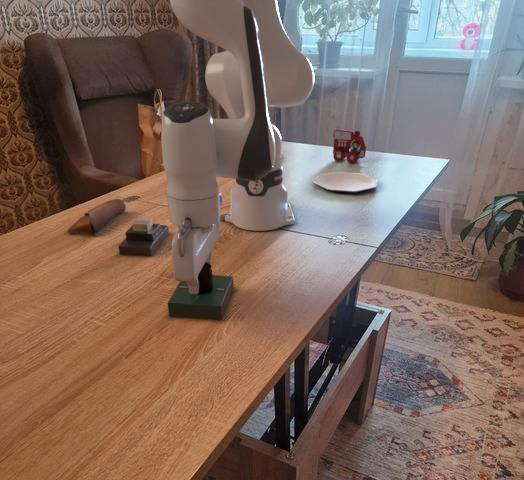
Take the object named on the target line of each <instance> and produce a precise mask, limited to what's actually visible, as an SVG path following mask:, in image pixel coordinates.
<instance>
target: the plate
mask: <svg viewBox="0 0 524 480" xmlns="http://www.w3.org/2000/svg"><path fill="white" fill-rule="evenodd" d="M378 182H379V179H377V178H375V177H372V176H370V175H368V174H364V173H361V172H349V171H333V172H328V173H322V174H321V173H320V174H318V175H316V177H315V179H314V180H313V185H315V186H318V187H320V188H322V189H324V190H326V191H329V192H340V193H341V192H342V193H352V194H353V193H360V192H365V191H370V190H375V189H376V188H377V186H378Z"/></svg>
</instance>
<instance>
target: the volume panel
mask: <svg viewBox="0 0 524 480" xmlns="http://www.w3.org/2000/svg"><path fill="white" fill-rule="evenodd" d="M212 276H213V290H212V291H211V292H209V293H205V294H190V293H189V289H188V284H187V282H183V281H178V284H177V286H176V287H175V289H174V291H173V292H172V295H171V296H170V298H169V300H168V301H167V309H168V316H169V317H170V318H184V319H198V320H199V319H200V320H214V321H215V320H216V321H223V318H224V316H225V313H226V311H227V308H228V305H229V303H230V300H231V297H232V295H233V292H234V290H235V288H234V287H235V286H234V285H235V284H234V276H233V275H232V276H231V275H221V274H220V275H219V274H218V275H217V274H212Z"/></svg>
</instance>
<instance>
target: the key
mask: <svg viewBox="0 0 524 480" xmlns="http://www.w3.org/2000/svg"><path fill="white" fill-rule="evenodd" d="M153 224H154V223H153V219H152V218H139V217H138V218H136V219H135V220H134V221H133V222H132V225H133V231H141V232H149V231H150V230H151V229H152V228H153ZM132 225H131V226H132Z"/></svg>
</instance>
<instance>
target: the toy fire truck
mask: <svg viewBox="0 0 524 480" xmlns="http://www.w3.org/2000/svg"><path fill="white" fill-rule="evenodd" d="M332 136H333V148H332V155H333V156H332V157H333V160H334V161H335V162H338V163H340V162H343V161H344V159H346V160H347V162H348V163H349V164H355V163H357V161H358V160H359V159H365V157H366V152H367V146H366V143H365V140H364V137H363V136H362V135H361V132H360V131H359V130H355V131H353V130H346V129H345V130H344V129H335V130H333V134H332Z"/></svg>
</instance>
